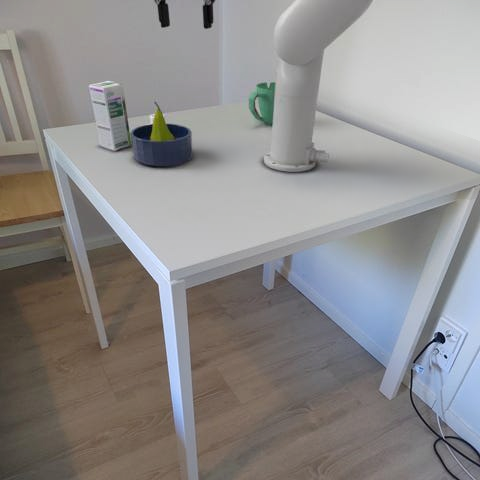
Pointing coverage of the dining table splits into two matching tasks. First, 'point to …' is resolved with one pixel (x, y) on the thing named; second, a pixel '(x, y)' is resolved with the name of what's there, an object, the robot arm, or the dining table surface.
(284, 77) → the robot arm
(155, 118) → the fruit
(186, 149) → the bowl
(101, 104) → the syrup box
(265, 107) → the mug
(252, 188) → the dining table surface
